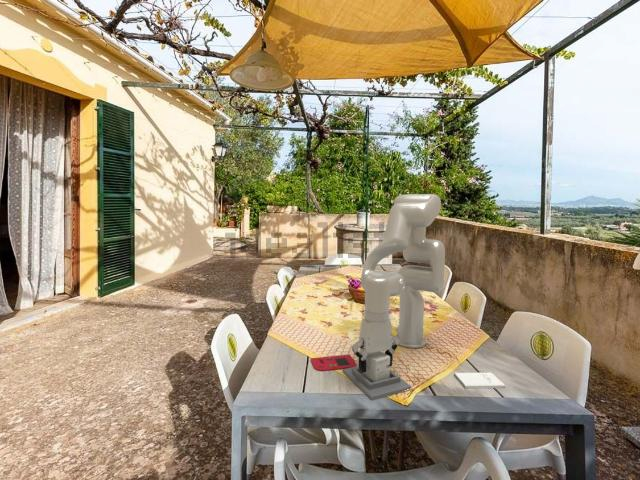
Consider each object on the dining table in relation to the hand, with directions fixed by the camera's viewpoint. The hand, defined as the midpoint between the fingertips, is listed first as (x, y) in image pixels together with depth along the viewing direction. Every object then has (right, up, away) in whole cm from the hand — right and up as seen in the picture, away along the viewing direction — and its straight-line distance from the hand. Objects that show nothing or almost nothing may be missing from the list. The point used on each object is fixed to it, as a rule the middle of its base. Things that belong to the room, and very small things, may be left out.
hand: (375, 367), depth 109 cm
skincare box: (0, -4, +1) cm, 4 cm away
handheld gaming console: (-13, -4, +12) cm, 18 cm away
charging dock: (0, -4, 0) cm, 4 cm away
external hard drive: (+33, -5, 0) cm, 33 cm away
